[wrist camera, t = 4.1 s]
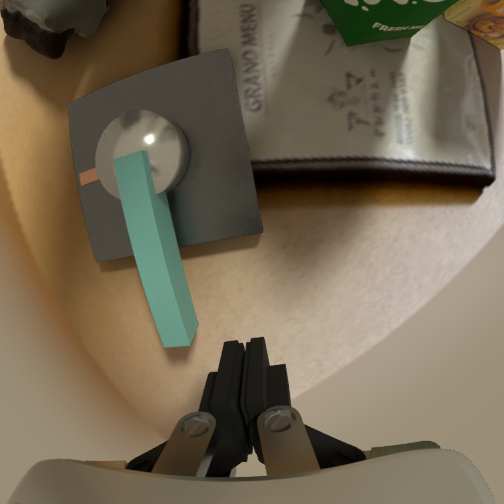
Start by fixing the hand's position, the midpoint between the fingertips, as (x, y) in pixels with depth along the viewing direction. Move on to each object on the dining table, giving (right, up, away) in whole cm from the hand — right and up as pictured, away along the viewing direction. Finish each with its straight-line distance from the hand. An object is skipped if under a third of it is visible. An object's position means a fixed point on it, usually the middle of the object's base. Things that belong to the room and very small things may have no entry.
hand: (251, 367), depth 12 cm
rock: (-19, +30, +5) cm, 36 cm away
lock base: (-7, +12, +9) cm, 17 cm away
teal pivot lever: (-6, +7, +9) cm, 13 cm away
